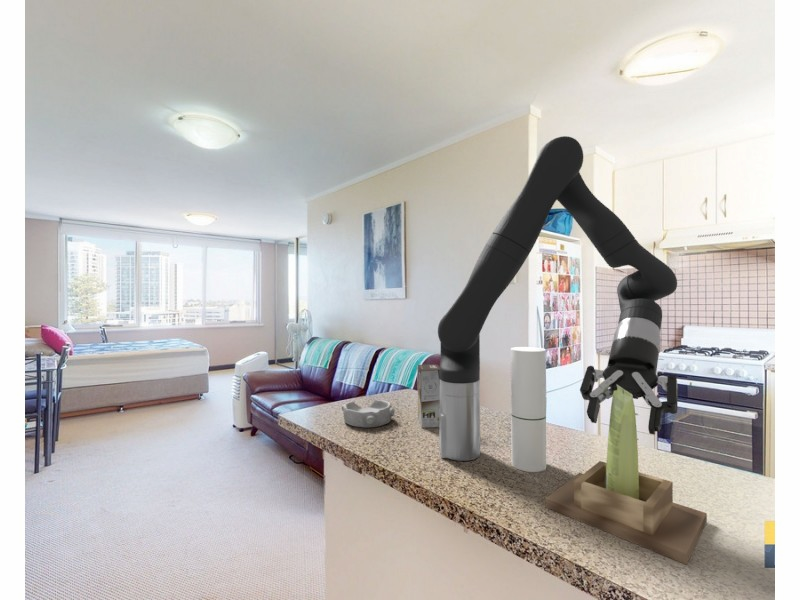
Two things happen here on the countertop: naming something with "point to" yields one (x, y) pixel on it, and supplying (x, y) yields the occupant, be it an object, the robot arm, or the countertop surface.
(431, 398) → the coffee box
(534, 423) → the cylindrical container
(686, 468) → the countertop surface
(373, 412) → the dish
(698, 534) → the wooden box on board
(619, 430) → the tube
